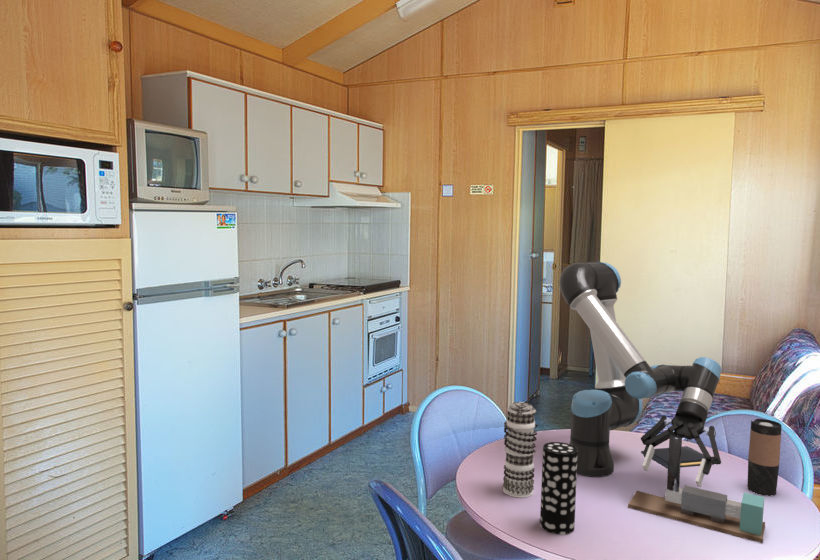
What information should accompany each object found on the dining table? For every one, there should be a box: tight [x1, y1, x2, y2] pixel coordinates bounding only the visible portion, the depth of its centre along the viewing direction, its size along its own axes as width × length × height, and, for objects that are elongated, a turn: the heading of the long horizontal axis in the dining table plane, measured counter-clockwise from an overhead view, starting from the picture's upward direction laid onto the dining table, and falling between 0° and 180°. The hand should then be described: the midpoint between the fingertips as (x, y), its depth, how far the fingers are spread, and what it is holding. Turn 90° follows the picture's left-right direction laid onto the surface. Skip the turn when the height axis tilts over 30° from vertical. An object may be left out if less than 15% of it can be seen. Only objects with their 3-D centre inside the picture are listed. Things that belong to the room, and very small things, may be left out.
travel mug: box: [747, 418, 783, 497], centre depth 169 cm, size 8×8×20 cm
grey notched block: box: [681, 484, 728, 524], centre depth 152 cm, size 10×5×6 cm, turn 56°
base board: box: [627, 490, 766, 544], centre depth 153 cm, size 31×10×1 cm, turn 56°
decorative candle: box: [502, 401, 538, 499], centre depth 166 cm, size 9×9×25 cm
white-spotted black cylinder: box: [539, 441, 578, 535], centre depth 146 cm, size 8×8×20 cm
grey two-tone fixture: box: [664, 435, 742, 519], centre depth 151 cm, size 20×3×17 cm, turn 56°
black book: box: [640, 445, 718, 470], centre depth 194 cm, size 20×2×15 cm
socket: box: [740, 492, 765, 536], centre depth 146 cm, size 4×7×7 cm, turn 146°
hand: (670, 476), depth 154 cm, fingers open, 13 cm apart
